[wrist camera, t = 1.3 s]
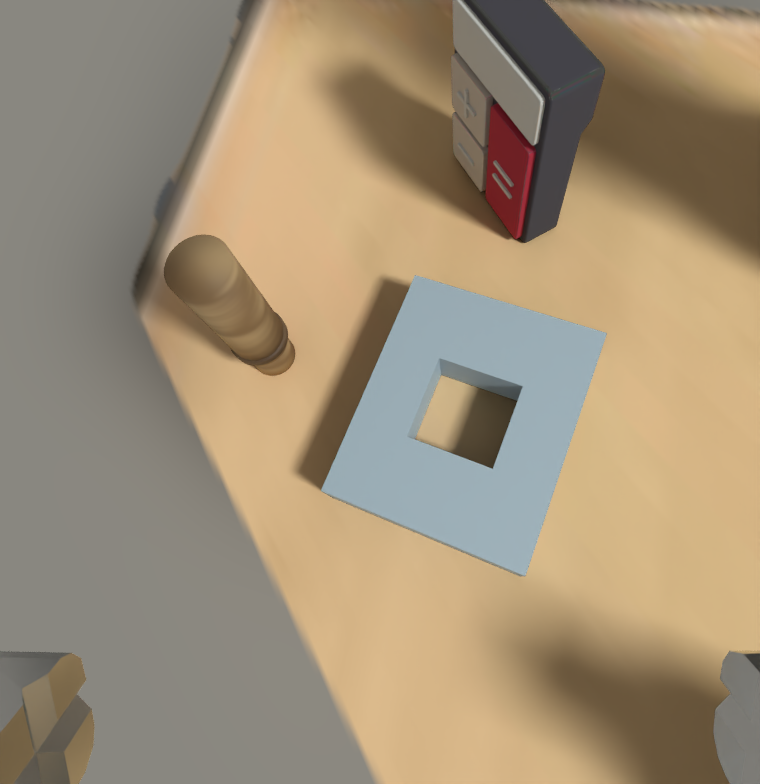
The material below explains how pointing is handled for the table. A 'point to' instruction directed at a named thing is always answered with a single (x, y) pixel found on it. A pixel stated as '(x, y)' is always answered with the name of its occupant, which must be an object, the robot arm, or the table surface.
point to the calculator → (520, 106)
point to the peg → (229, 303)
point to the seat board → (446, 470)
